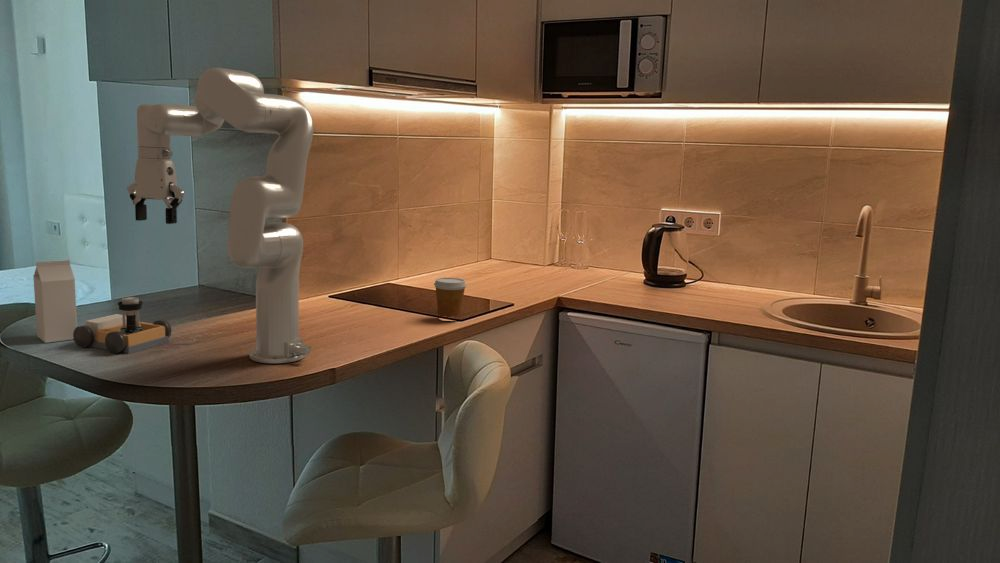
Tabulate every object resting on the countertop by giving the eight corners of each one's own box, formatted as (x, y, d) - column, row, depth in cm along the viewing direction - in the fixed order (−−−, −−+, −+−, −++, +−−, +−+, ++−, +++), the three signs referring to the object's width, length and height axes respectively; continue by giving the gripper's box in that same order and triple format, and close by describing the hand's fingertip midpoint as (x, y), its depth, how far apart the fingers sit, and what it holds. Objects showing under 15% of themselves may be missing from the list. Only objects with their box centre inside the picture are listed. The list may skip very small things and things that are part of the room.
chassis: (173, 340, 185) (172, 319, 184) (123, 355, 172) (122, 331, 171) (124, 332, 191) (123, 311, 190) (72, 345, 177) (70, 322, 176)
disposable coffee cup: (440, 314, 229) (441, 276, 227) (469, 318, 226) (471, 279, 224) (427, 321, 220) (429, 280, 218) (458, 325, 217) (459, 284, 215)
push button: (149, 335, 184) (148, 295, 182) (150, 340, 179) (149, 299, 177) (119, 337, 181) (117, 296, 179) (119, 342, 176) (117, 301, 174)
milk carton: (77, 339, 183) (74, 262, 179) (44, 343, 178) (40, 264, 174) (69, 333, 188) (65, 258, 184) (36, 337, 183) (32, 260, 179)
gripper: (192, 156, 190) (193, 223, 193) (139, 152, 196) (140, 218, 199) (170, 156, 183) (172, 226, 186) (115, 152, 189) (118, 220, 192)
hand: (156, 221), depth 193 cm, fingers open, 9 cm apart
